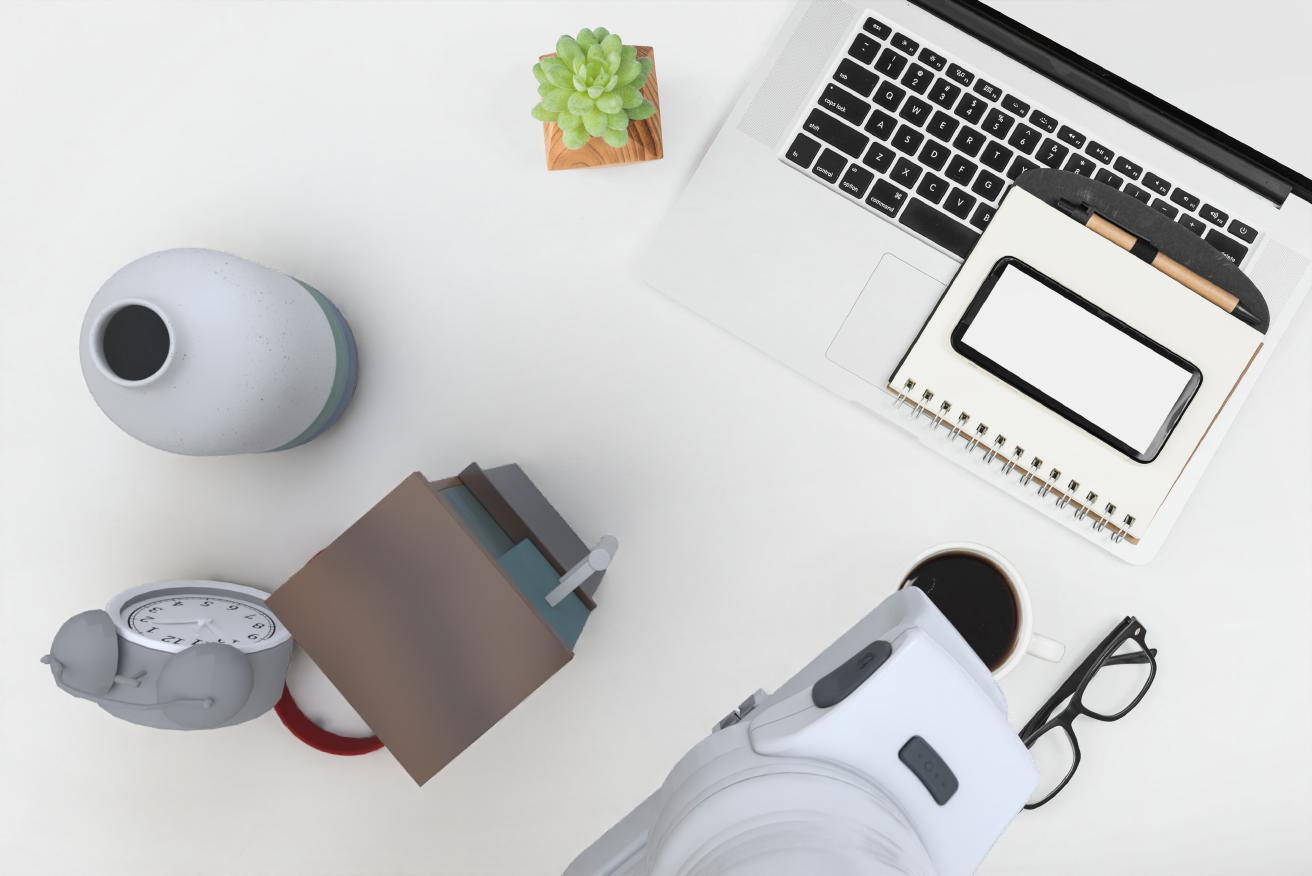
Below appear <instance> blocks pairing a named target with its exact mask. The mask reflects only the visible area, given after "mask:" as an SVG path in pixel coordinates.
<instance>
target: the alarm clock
mask: <svg viewBox="0 0 1312 876" xmlns="http://www.w3.org/2000/svg"><path fill="white" fill-rule="evenodd" d="M272 594H273V593H270V592H267V591H264V590H261V589H258V588H255V587H251V586H246V585H242V584H238V583H233V582H225V581H217V580H208V579H206V580H205V579H173V580H172V579H171V580H161V581H155V582H149V583H148V582H147V583H143V584H139V585H137V586H133V587H129V588H127V589H124V590H123V591H121V592H119V593H117V594H115V595H114V596H113V597H111V599H110V600H109V602H108V603H107V604H106V605H105V609H104V610H103V609H101V608H99V609H90V610H89V609H88V610H86V611H83V612H80V613H77V614H75V615H73V616H71V617H70V618H68V619H67V620H66V621H65V622H63V624H62V626H61V627H60V628H59V629H58V631H57V633H56V634H55V635H54V638H53V640H52V643H51V647H50V650H49V654H45V655H44V656H42V657H41V658H40V659H39V662H40V663H42V664H43V665H49V668H50V671H51V674H52V677H53V678H54V681H55V685H56V686H57V688H59V689H61V690H63V691H64V692H65V693H67V694H69V695H70V696H72V697H74V698H78V699H83V700H86V701H89V702H92V703H96V704H97V705H98V707H100V709H102V710H104V711H105V712H107V713H108V714H109V715H111V716H113V717H115V718H117V719H120V720H123V721H125V722H127V723H130V724H134V725H136V726H143V727H147V728H153V729H157V730H158V729H159V730H167V731H168V730H169V731H184V732H188V731H189V732H190V731H207V730H208V731H209V730H217V729H223V728H227V727H233V726H239V725H241V724H243V723H247V722H250V721H252V720H255V719H259V718H260V717H261V716H263V715H265V714H267V713H268V712H269V711H272V710H273V709H274V706H275V705H276V704H277V702H278V701H279V700H280V699H281V697H282V692H283V688H284V683H285V679H286V680H287V673H288V669H289V664H290V660H291V655H292V651H293V646H294V642H295V639H294V638H293V636H292V635H291V634H290V633H289V632H288V630H287V629H286V628H285V627H284V626H283V624H282V623H281V622H280V621H279V620H278V619H277V617H276V616H275V615H274V614H273V613H272V611H271V610H270V609H269V608H268V607H267V606H266V604H265V603H264V601H265V600H266V599H267V598H268V597H269V596H271V595H272Z"/></svg>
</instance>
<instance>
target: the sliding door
mask: <svg viewBox="0 0 1312 876" xmlns="http://www.w3.org/2000/svg"><path fill="white" fill-rule="evenodd" d="M618 549H619V540H618V539H617V537H616V536H614V535H612V534H605V535H603V536H602V537H600V538H599V541H597V543H596V545H595V546H594V547H593V549H592V550H591V553H590V554H588V555H587V556H586V557H585V558H584V559H582V560H581V561H580V562H579V563H578V564H577V565H575V566H574V567H573V568H572V569H571V570H570V571H568V572H567V573H566V574H565V575H564V576H562V577H560V575H559V574H558V573H557V572H556V571H555V569H554V568H553V567H552V566H551V565H550V564H549V562H548V561H547V560H546V559H545V558H544V556H543V555H542V554H541V553H540V552H539V551H538V549H537V548H536V547H535V546H534V545H533V544H532V542H531V541H530V540H529V539H528V538H526V539H524V540H523V541H522V542H520V543H519V544H517V545H516V546H515V547H513V548H512V549H510V550H509V551H508V552H506V553H505V554H504V555H502V556H501V557H499V558H498V559H497V560H496V561H497V563H498V564H499V565H500V566H501V567H502V568H503V570H504V571H505V572H506V573H507V574H508V576H509V577H510V578H511V579H512V580H513V581H514V583H515V584H516V585H517V586H518V587H519V588H520V590H521V591H522V592H523V593H524V594H525V596H526V597H527V598H528V599H529V600H530V601H531V603H532V604H533V605H534V606H535V607H536V609H537V610H538V611H539V612H540V613H541V614H542V616H543V617H544V618H545V619H546V620H547V621H548V623H549V624H550V625H551V626H552V627H553V629H554V630H555V631H556V632H557V633H558V634H559V636H560V637H561V638H562V639H563V640H564V642H565V643H566V644H567V645H568V646H569V647H570V649H571V650H572V651H573V650H574V648H575V646H576V644H577V642H578V641H579V639H580V637H581V635H582V632H583V630H584V628H585V626H586V624H587V622H588V620H589V618H590V615H591V613H592V612H590V611H589V609H588V608H587V607H586V606H585V605H584V604H583V602H582V601H581V600H580V599H579V598H578V597H577V595H576V594H575V593H574V592H573V590H574V589H575V588H576V587H577V586H579V585H580V584H581V583H582V582H583V581H584V580H586V579H587V578H588V577H589V576H590V575H591V574H593V573H594V572H595V571H596V570H597V571H602V570H604V569H606V570H607V568H608V567H609V566H610V564H611V562H612V560H613V558H614V556H615V554H616V552H617V551H618ZM573 652H574V651H573Z"/></svg>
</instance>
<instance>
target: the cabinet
mask: <svg viewBox="0 0 1312 876" xmlns="http://www.w3.org/2000/svg"><path fill="white" fill-rule="evenodd" d="M526 538H528V539H529V540H530V541H531V542H532V544H533V545H534V546H535V547H536V548H537V549H538V551H539V552H540V553H541V554H542V555H543V556H544V558H545V559H546V560H547V561H548V562H549V564H550V565H551V566H552V567H553V568H554V569H555V571H556V572H557V573H558V574H559V575H560V577H562V576H564V575H565V574H566V573H567V572H568V571H570V570H571V569H572V568H573V567H574V566H575V565H577V564H578V563H579V562H580V561H581V560H582V559H584V558H585V557H586V556H587V555H588V554H590V553H591V552H592V550H590V548H589V547H588V546H587V545H586V544H585V542H584V541H583V540H582V539H581V537H579V536H578V534H577V533H576V532H575V531H574V529H573V528H572V527H571V526H570V525H569V523H568V522H567V521H566V520H565V519H564V518H563V517H562V515H561V514H560V513H559V512H558V511H557V509H556V508H555V507H554V506H553V505H552V504H551V502H550V501H549V500H548V499H547V498H546V496H544V494H543V493H542V492H541V491H540V490H539V489H538V487H537V486H536V485H535V483H534V482H533V481H532V480H531V479H530V477H529V476H528V475H527V474H526V473H525V472H524V470H523V469H522V468H521V467H520V466H519V464H518V463H516V462H514V463H510V464H505V465H500V466H497V467H492V468H487V469H482V468H481V466H480V465H479V464H478V463H477V461H472V462H471V463H470V464H469V465H467V466H466V467H465V468H464V469H463V470H462V471H461V472H459V473H458V474H457V475H454V476H450V477H446V478H442V479H437V480H432V481H429V480H428V479H427V478H426V476H425V475H424V474H423V473H422V472H421V471H420V470H417V471H413V472H412V473H411V474H410V475H408V476H407V477H406V478H405V479H403V481H401V482H400V483H399V484H398V485H397V486H396V487H395V488H393V489H392V490H391V491H390V492H389V493H387V494H386V496H384V497H383V498H382V499H381V500H379V501H378V502H377V503H376V504H375V505H374V506H373V507H371V508H370V509H369V510H368V511H367V512H365V513H364V514H363V515H362V516H361V517H360V518H358V519H357V520H356V521H355V522H354V523H353V524H351V526H349V527H348V528H347V529H346V530H345V531H343V533H341V534H340V535H339V536H338V537H336V538H335V540H333V541H332V542H331V543H330V544H329V545H327V546H326V547H325V548H323V549H324V550H323V549H322V550H323V551H322V552H321V553H319V552H318V553H319V554H318V555H317V556H316V557H315V558H314V559H312V558H311V559H312V560H311V559H310V560H311V561H310V560H309V561H310V562H309V561H308V562H309V563H308V562H307V563H308V564H307V563H306V564H307V565H306V564H305V565H304V566H303V567H301V569H299V570H298V571H297V572H296V573H294V574H293V576H291V578H289V579H288V580H287V581H285V582H284V583H283V584H282V585H280V587H279V588H278V589H276V590H275V591H274V592H273V593H271V594H272V595H271V596H269V597H268V598H267V599H266V600H265V601H264V603H265V604H266V606H267V607H268V608H269V609H270V610H271V611H272V613H273V614H274V615H275V616H276V617H277V619H278V620H279V621H280V622H281V623H282V624H283V626H284V627H285V628H286V629H287V630H288V632H289V633H290V634H291V635H292V636H293V638H294V641H296V643H297V644H298V645H300V647H301V649H303V651H304V652H305V653H306V654H307V655H308V656H309V658H310V659H311V660H312V661H313V663H314V664H315V666H317V668H319V670H320V671H321V672H322V673H323V674H324V676H325V677H326V678H327V679H328V680H329V682H330V683H331V684H332V685H333V687H334V688H335V689H336V690H337V691H338V693H340V695H341V696H342V697H343V698H344V700H346V702H347V703H348V704H349V705H350V707H352V709H353V710H354V711H355V712H356V714H357V715H358V716H359V717H360V718H361V719H362V721H363V722H364V723H365V724H366V725H367V727H368V728H369V729H370V730H371V731H372V732H373V734H374V736H377V737H378V738H379V739H380V741H381V742H382V743H383V744H384V745H385V746H384V747H385V748H386V749H387V750H388V752H389V753H390V754H391V755H392V756H393V757H394V758H395V760H396V761H397V762H398V763H399V764H400V766H401V767H402V768H403V769H404V770H405V772H407V774H408V775H409V776H410V777H411V779H412V780H413V781H414V782H415V783H416V785H417V786H418V787H419V788H422V787H423V786H424V785H426V783H428V782H429V781H430V780H431V779H432V778H433V777H435V776H436V775H438V773H440V772H441V771H442V770H443V769H444V768H446V767H447V766H448V765H449V764H451V762H453V761H454V760H455V759H456V758H457V757H458V756H459V755H462V753H463V752H464V751H465V750H467V749H468V748H469V747H470V746H471V745H473V744H474V743H475V742H476V741H478V739H480V738H481V737H482V736H483V735H484V734H486V733H487V732H488V731H489V730H490V729H492V728H493V727H494V726H495V725H497V724H498V723H499V722H500V721H501V720H502V719H503V718H505V717H506V716H507V715H508V714H509V713H511V712H512V711H513V710H514V709H515V708H517V707H518V706H519V705H520V704H521V703H522V702H524V701H525V700H526V699H527V698H528V697H529V696H531V695H532V694H533V693H534V692H535V691H537V690H538V689H539V688H540V687H541V686H543V685H544V684H545V683H546V682H547V681H549V679H551V678H552V677H553V676H554V675H556V674H557V673H558V672H559V671H560V670H562V668H564V667H565V666H566V665H568V664H569V662H571V661H572V660H573V659H574V657H575V655H576V654H575V652H574V651H572V650H571V649H570V647H569V646H568V645H567V644H566V643H565V642H564V640H563V639H562V638H561V637H560V636H559V634H558V633H557V632H556V631H555V630H554V629H553V627H552V626H551V625H550V624H549V623H548V621H547V620H546V619H545V618H544V617H543V616H542V614H541V613H540V612H539V611H538V610H537V609H536V607H535V606H534V605H533V604H532V603H531V601H530V600H529V599H528V598H527V597H526V596H525V594H524V593H523V592H522V591H521V590H520V588H519V587H518V586H517V585H516V584H515V583H514V581H513V580H512V579H511V578H510V577H509V576H508V574H507V573H506V572H505V571H504V570H503V568H502V567H501V566H500V565H499V564H498V563H497V561H496V560H497V559H498V558H499V557H501V556H502V555H504V554H505V553H506V552H508V551H509V550H510V549H512V548H513V547H515V546H516V545H517V544H519V543H520V542H522V541H523V540H524V539H526ZM606 573H607V568H606V569H604V570H602V571H597V570H596V571H595V572H594V573H593V574H591V575H590V576H589V577H588V578H587V579H586V580H584V581H583V582H582V583H581V584H580V585H579V586H577V587H576V588H575V589H574V590H573V592H574V593H575V594H576V595H577V597H578V598H579V599H580V600H581V601H582V602H583V604H584V605H585V606H586V607H587V608H588V609H589V611H590V612H591V613H592V612H594V610H596V609H597V607H598V604H597V603H596V601H595V600H594V599H593V598H594V595H595V594H596V591H597V589H598V587H599V586H600V584H601V582H602V580H603V578H604V576H605V574H606Z"/></svg>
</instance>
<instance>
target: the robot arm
mask: <svg viewBox="0 0 1312 876" xmlns="http://www.w3.org/2000/svg"><path fill="white" fill-rule="evenodd" d="M1006 699H1007V698H1006V696H1005V694H1004V692H1003V690H1002V688H1001V686H1000V684H999V683H998V681H997V679H996V678H995V676H994V675H993V673H992V672H991V670H990V669H989V668H988V666H987V665H986V664H985V662H984V661H983V660H982V658H980V656H979V655H978V654H977V653H976V651H975V650H974V649H973V648H972V647H971V646H970V644H969V643H968V642H967V641H966V640H965V638H964V637H963V635H961V633H960V632H959V631H958V630H957V628H956V627H955V626H954V625H953V624H952V623H951V621H950V620H949V619H948V618H947V617H946V615H945V614H943V612H942V611H941V610H940V609H939V608H938V607H937V606H936V605H935V604H934V602H933V601H932V600H931V599H930V598H929V597H928V595H927V594H926V593H925V592H924V591H923V590H922V589H921V588H919V587H918V586H914V585H910V586H906V587H903V588H901V589H899V590H897V591H895V592H893V593H892V594H890V595H889V596H887V597H886V598H885V599H884V600H883V601H881V602H880V603H879V604H878V605H877V606H876V607H874V608H873V609H872V610H871V611H870V612H868V613H867V614H866V615H865V616H864V617H863V618H861V619H860V620H859V621H858V622H857V623H855V624H854V625H853V626H852V627H851V628H849V629H848V630H847V631H846V632H844V633H843V634H842V635H841V636H840V637H838V638H837V639H836V640H835V641H834V642H833V643H831V644H830V645H829V646H827V648H825V649H824V650H823V651H822V652H821V653H819V654H818V655H816V656H815V658H813V659H812V660H811V661H810V662H809V663H807V664H806V665H805V666H804V667H803V668H801V669H800V670H799V671H797V673H796V674H794V675H793V676H792V677H790V678H789V679H788V680H787V681H786V682H785V683H784V684H782V685H781V686H779V687H778V688H777V689H776V690H775V691H774V692H772V693H770V694H768V693H767V692H766V691H765V690H764V688H762V687H759V688H758V689H757V690H756V691H755V692H753V693H752V694H751V695H749V697H747V698H746V699H745V700H744V701H743V702H741V703H740V704H739V705H738V706H737V707H738V710H736V709H733V710H732V712H730V713H729V714H727V715H726V716H725V717H724V718H723V719H721V720H720V721H719V722H718V723H716V724H715V725H714V726H713V727H712V728H711V734H710V735H709V736H706V737H705V738H704V739H702V740H701V741H699V742H698V743H696V744H695V745H694V746H693V747H691V749H689V750H688V751H687V752H685V754H684V755H683V756H682V757H681V758H680V759H679V760H678V761H677V762H676V764H675V765H674V766H673V767H672V769H671V770H670V772H669V773H668V774H667V776H666V778H665V779H664V781H663V783H662V785H661V786H660V787H658V789H656V790H655V791H653V792H652V794H650V795H649V796H648V797H647V798H645V799H644V800H643V801H642V802H640V804H639V805H637V806H636V807H635V808H634V809H632V810H631V811H630V812H629V813H627V814H626V815H625V816H624V817H623V818H621V819H619V821H617V823H615V824H614V825H613V826H612V827H611V828H609V829H608V830H607V831H606V832H605V833H603V834H602V835H601V836H600V837H599V838H597V839H596V840H595V841H594V842H593V843H592V844H590V845H589V846H588V847H586V848H585V849H584V850H583V851H582V852H580V853H579V854H578V855H577V856H575V858H574V859H573V860H571V862H570V863H569V864H568V865H567V867H566V868H565V869H564V871H563V872H562V874H561V876H975V874H976V872H977V871H978V869H979V868H980V867H981V864H982V863H983V861H984V860H985V859H986V857H987V855H989V853H990V852H991V850H992V848H993V847H994V846H995V845H996V843H997V842H998V840H999V839H1000V837H1001V836H1002V835H1003V834H1004V832H1005V831H1006V830H1007V829H1008V827H1009V826H1010V824H1011V823H1012V822H1013V821H1014V820H1015V818H1016V817H1017V816H1018V814H1019V813H1020V812H1021V811H1022V810H1023V808H1024V807H1025V806H1026V805H1027V803H1028V802H1029V801H1030V800H1031V798H1032V797H1033V795H1034V794H1035V793H1036V791H1037V789H1038V787H1039V785H1040V783H1041V779H1042V773H1041V769H1040V767H1039V766H1038V765H1039V764H1037V762H1036V760H1035V759H1034V757H1033V756H1032V754H1031V752H1030V751H1029V749H1028V748H1027V746H1026V744H1025V743H1024V742H1023V740H1022V738H1020V736H1019V734H1018V732H1017V731H1016V730H1015V728H1014V727H1013V726H1012V724H1011V723H1010V721H1009V709H1008V708H1009V707H1008V703H1007V700H1006Z"/></svg>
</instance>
